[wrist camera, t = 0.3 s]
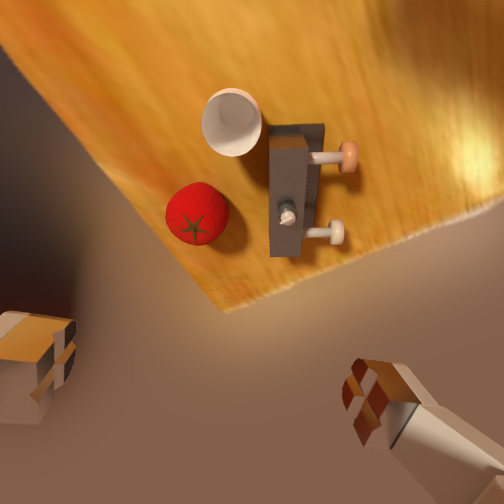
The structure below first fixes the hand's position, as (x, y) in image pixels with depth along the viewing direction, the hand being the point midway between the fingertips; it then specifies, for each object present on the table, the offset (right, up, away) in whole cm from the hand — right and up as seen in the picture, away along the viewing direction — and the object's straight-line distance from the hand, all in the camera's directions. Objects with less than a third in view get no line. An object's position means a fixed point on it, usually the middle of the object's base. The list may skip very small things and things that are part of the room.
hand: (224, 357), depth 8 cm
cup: (-2, +28, +43) cm, 52 cm away
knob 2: (+14, +8, +51) cm, 54 cm away
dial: (+7, +11, +42) cm, 44 cm away
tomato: (-10, +14, +54) cm, 56 cm away
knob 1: (+13, +21, +42) cm, 49 cm away
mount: (+9, +17, +51) cm, 54 cm away
